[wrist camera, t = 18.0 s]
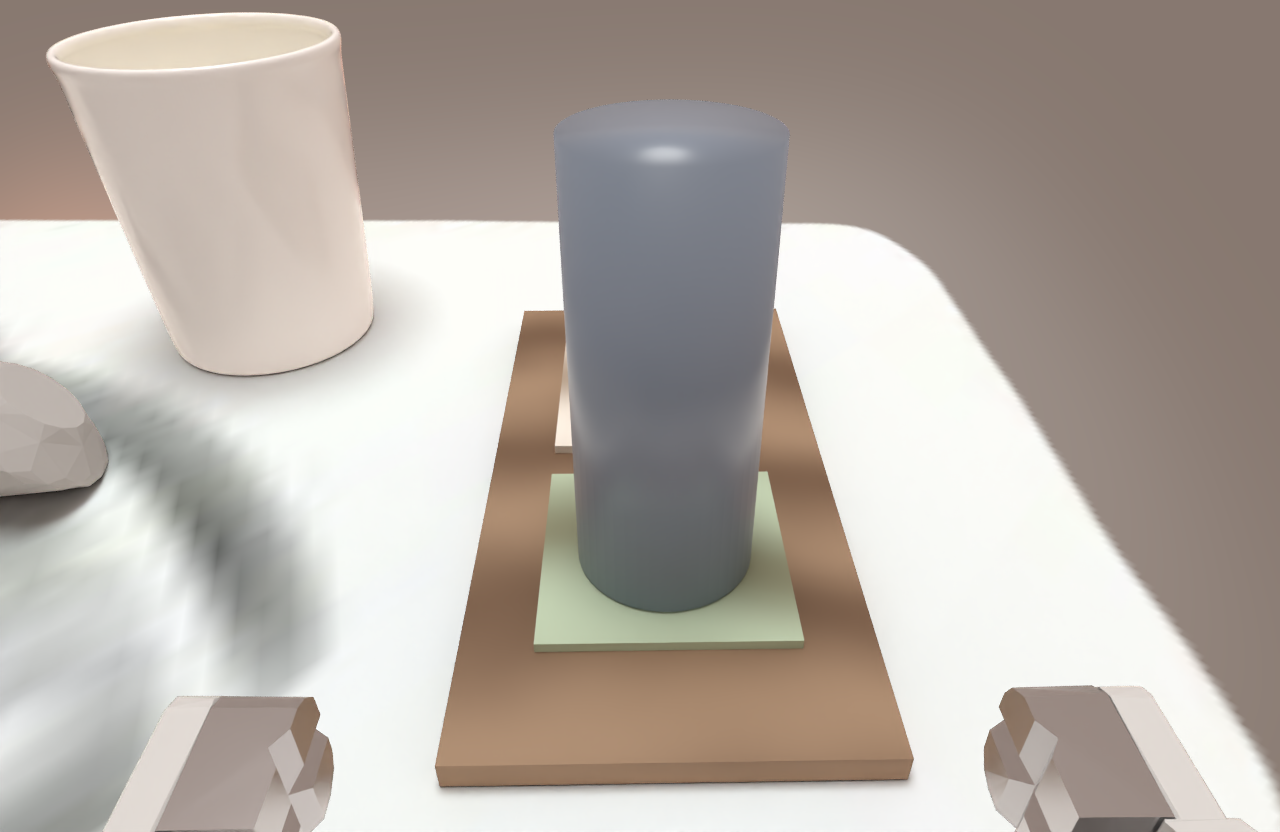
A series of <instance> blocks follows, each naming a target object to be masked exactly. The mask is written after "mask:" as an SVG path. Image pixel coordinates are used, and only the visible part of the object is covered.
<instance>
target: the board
mask: <svg viewBox="0 0 1280 832" xmlns="http://www.w3.org/2000/svg"><path fill="white" fill-rule="evenodd" d="M913 760H914V758H913V755H912V751H911V748H910V745H909V742H908V738H907V735H906V732H905V729H904V725H903V722H902V719H901V716H900V712H899V709H898V706H897V703H896V699H895V696H894V693H893V689H892V686H891V683H890V680H889V676H888V673H887V670H886V667H885V663H884V660H883V657H882V654H881V650H880V647H879V644H878V641H877V637H876V634H875V631H874V628H873V624H872V621H871V618H870V615H869V611H868V608H867V605H866V601H865V598H864V595H863V592H862V588H861V585H860V582H859V579H858V575H857V572H856V569H855V566H854V562H853V559H852V556H851V553H850V549H849V546H848V543H847V540H846V536H845V533H844V530H843V527H842V523H841V520H840V517H839V513H838V510H837V507H836V504H835V500H834V497H833V494H832V491H831V487H830V484H829V481H828V478H827V474H826V471H825V468H824V465H823V461H822V458H821V455H820V452H819V448H818V445H817V442H816V439H815V435H814V432H813V429H812V425H811V422H810V419H809V416H808V412H807V409H806V406H805V403H804V399H803V396H802V393H801V390H800V386H799V383H798V380H797V377H796V373H795V370H794V367H793V364H792V360H791V357H790V354H789V351H788V347H787V344H786V341H785V337H784V334H783V331H782V328H781V324H780V321H779V318H778V315H777V311H776V309H774V310H773V321H772V331H771V342H770V353H769V364H768V375H767V386H766V396H765V407H764V418H763V429H762V440H761V451H760V462H759V472H758V483H757V494H756V505H755V516H754V527H753V537H752V548H751V559H750V563H749V567H748V570H747V572H746V574H745V576H744V577H743V579H742V580H741V582H740V583H739V584H738V585H737V586H736V587H735V588H734V589H733V590H732V591H731V592H729V593H728V594H727V595H725V596H724V597H722V598H720V599H719V600H717V601H715V602H712V603H710V604H708V605H705V606H702V607H699V608H695V609H690V610H686V611H677V612H656V611H647V610H642V609H637V608H634V607H630V606H627V605H624V604H622V603H619V602H617V601H615V600H613V599H611V598H610V597H608V596H606V595H605V594H603V593H602V592H601V591H599V590H598V589H597V588H596V587H595V586H594V585H593V584H592V583H591V582H590V581H589V579H588V578H587V577H586V575H585V573H584V571H583V569H582V567H581V564H580V561H579V553H578V538H577V521H576V504H575V487H574V470H573V453H572V436H571V419H570V402H569V386H568V369H567V352H566V335H565V318H564V311H524V316H523V321H522V326H521V331H520V336H519V341H518V346H517V352H516V357H515V362H514V367H513V372H512V377H511V382H510V387H509V392H508V397H507V402H506V408H505V413H504V418H503V423H502V428H501V433H500V438H499V443H498V448H497V453H496V458H495V463H494V469H493V474H492V479H491V484H490V489H489V494H488V499H487V504H486V509H485V514H484V519H483V525H482V530H481V535H480V540H479V545H478V550H477V555H476V560H475V565H474V570H473V575H472V580H471V586H470V591H469V596H468V601H467V606H466V611H465V616H464V621H463V626H462V631H461V636H460V641H459V647H458V652H457V657H456V662H455V667H454V672H453V677H452V682H451V687H450V692H449V697H448V703H447V708H446V713H445V718H444V723H443V728H442V733H441V738H440V743H439V748H438V753H437V758H436V764H435V769H436V773H437V777H438V782H439V786H503V785H566V784H630V783H694V782H757V781H821V780H885V779H908V777H909V773H910V770H911V767H912V763H913Z"/></svg>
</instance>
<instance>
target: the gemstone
mask: <svg viewBox="0 0 1280 832" xmlns="http://www.w3.org/2000/svg"><path fill="white" fill-rule="evenodd" d="M107 464H108V456H107V451H106V446H105V444H104V441H103V439H102V437H101V436H100V434H99V432H98V430H97V428H96V426H95V424H94V423H93V422H92V421H91V419H90V418H89V417H88V415H87V414H86V412H85V410H84V409H83V407H82V406H81V404H80V402H79V401H78V400H77V399H76V398H75V397H74V396H73V395H72V394H71V393H70V391H69V390H68V389H66V388H65V387H64V386H62V385H61V384H59V383H58V382H57V381H55V380H54V379H52V378H51V377H49V376H47V375H45V374H43V373H41V372H39V371H37V370H35V369H32V368H29V367H25V366H22V365H19V364H15V363H8V362H2V361H0V496H9V495H19V494H29V493H39V492H49V491H59V490H65V489H69V488H78V487H87V486H90V485H92V484H93V483H94V482H95V481H97V480H98V479H99V478H101V477H102V475H103V474H104V471H105V469H106V466H107Z"/></svg>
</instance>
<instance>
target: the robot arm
mask: <svg viewBox="0 0 1280 832" xmlns="http://www.w3.org/2000/svg"><path fill="white" fill-rule="evenodd" d="M999 708H1000V710H1001V713H1002V715H1003V718H1004V720H1003V721H1002V722H1000V723H999V724H998V725H996V726H995V727H993V728H992V729H990V731H989V734H988V737H987V740H986V743H985V746H984V771H985V776H986V780H987V785H988V790H989V792H990V795H991V798H992V801H993V804H994V806H995V809H996V811H997V812H999V813H1000V814H1001V815H1002V816H1003V817H1004V818H1005V819H1006V820H1007V821H1008V822H1009V823H1011V824H1012V825H1013V826H1014V827H1015V828H1016V829H1015V832H1257V831H1256V830H1254V829H1253V828H1252V827H1250V826H1249V825H1248V824H1246V823H1245V822H1244V821H1242V820H1241V819H1236V818H1226V817H1225V815H1224V813H1223V812H1222V810H1221V808H1220V807H1219V805H1218V803H1217V802H1216V800H1215V798H1214V797H1213V795H1212V793H1211V792H1210V790H1209V788H1208V787H1207V785H1206V783H1205V782H1204V780H1203V779H1202V777H1201V775H1200V774H1199V772H1198V770H1197V769H1196V767H1195V765H1194V764H1193V762H1192V760H1191V759H1190V757H1189V755H1188V754H1187V752H1186V750H1185V749H1184V747H1183V746H1182V744H1181V742H1180V741H1179V739H1178V737H1177V736H1176V734H1175V732H1174V731H1173V729H1172V727H1171V726H1170V724H1169V722H1168V721H1167V719H1166V717H1165V716H1164V714H1163V712H1162V711H1161V709H1160V708H1159V706H1158V704H1157V703H1156V701H1155V699H1154V698H1153V696H1152V695H1151V694H1150V693H1149V692H1148V691H1147V690H1145V689H1144V688H1143V687H1140V686H1110V687H1094V686H1092V685H1091V686H1055V687H1018V688H1011V689H1010V690H1008V691H1007V692H1005V693H1004V696H1003V698H1002V700H1001V703H1000V705H999ZM319 717H320V712H319V710H318V707H317V705H316V703H315V700H314V698H313V697H241V696H178V697H177V698H176V699H175V700H174V701H173V702H172V703H171V704H170V705H169V706H168V707H167V708H166V709H165V710H164V712H163V714H162V716H161V718H160V720H159V722H158V724H157V725H156V727H155V729H154V731H153V733H152V735H151V737H150V739H149V741H148V743H147V745H146V747H145V749H144V751H143V753H142V755H141V757H140V759H139V761H138V763H137V765H136V767H135V769H134V771H133V773H132V775H131V776H130V778H129V780H128V782H127V784H126V786H125V788H124V790H123V792H122V794H121V796H120V798H119V800H118V802H117V804H116V806H115V808H114V810H113V812H112V814H111V816H110V818H109V820H108V822H107V824H106V825H105V827H104V829H103V831H102V832H312V831H313V830H314V829H315V828H316V827H317V826H318V825H319V824H320V823H321V822H322V821H323V820H324V818H325V814H326V810H327V807H328V803H329V799H330V796H331V789H332V780H333V771H334V765H333V753H332V748H331V745H330V742H329V739H328V737H326V736H325V735H323V734H322V733H321V732H319V731H318V730H316V726H317V723H318V720H319Z"/></svg>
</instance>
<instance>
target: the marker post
mask: <svg viewBox="0 0 1280 832" xmlns="http://www.w3.org/2000/svg"><path fill="white" fill-rule="evenodd" d="M788 147H789V130H788V128H787V127H786V126H785V125H784V123H782V122H781V121H779V120H778V119H776V118H774V117H772V116H770V115H768V114H765V113H763V112H760V111H757V110H753V109H750V108H745V107H741V106H736V105H730V104H725V103H717V102H708V101H696V100H643V101H631V102H622V103H615V104H609V105H604V106H599V107H595V108H591V109H587V110H584V111H581V112H578V113H575V114H574V115H571V116H569V117H567V118H565V119H564V120H562V121H561V122H560V123H559V124H557V126H556V127H555V129H554V149H555V166H556V183H557V200H558V215H559V216H558V217H559V234H560V251H561V267H562V284H563V301H564V318H565V335H566V352H567V369H568V386H569V402H570V419H571V436H572V453H573V470H574V487H575V504H576V521H577V538H578V553H579V561H580V564H581V567H582V569H583V571H584V573H585V575H586V577H587V578H588V579H589V581H590V582H591V583H592V584H593V585H594V586H595V587H596V588H597V589H598V590H599V591H601V592H602V593H603V594H605V595H606V596H608V597H610V598H611V599H613V600H615V601H617V602H619V603H622V604H624V605H627V606H630V607H634V608H637V609H642V610H647V611H656V612H677V611H686V610H690V609H695V608H699V607H702V606H705V605H708V604H710V603H712V602H715V601H717V600H719V599H720V598H722V597H724V596H725V595H727V594H728V593H729V592H731V591H732V590H733V589H734V588H735V587H736V586H737V585H738V584H739V583H740V582H741V580H742V579H743V577H744V576H745V574H746V572H747V570H748V567H749V563H750V559H751V548H752V537H753V527H754V516H755V505H756V494H757V483H758V472H759V462H760V451H761V440H762V429H763V418H764V407H765V396H766V386H767V375H768V364H769V353H770V342H771V331H772V321H773V310H774V299H775V288H776V277H777V266H778V256H779V245H780V234H781V223H782V212H783V201H784V190H785V178H786V169H787V156H788Z"/></svg>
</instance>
